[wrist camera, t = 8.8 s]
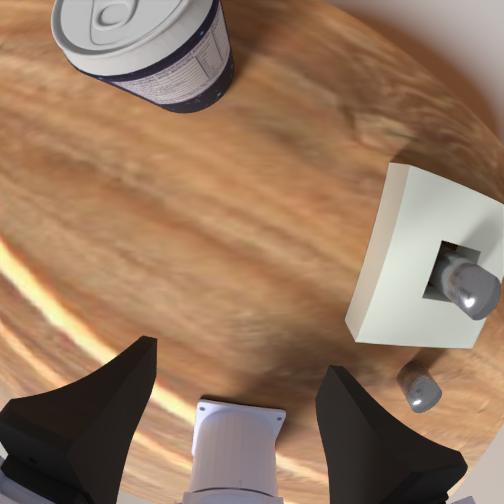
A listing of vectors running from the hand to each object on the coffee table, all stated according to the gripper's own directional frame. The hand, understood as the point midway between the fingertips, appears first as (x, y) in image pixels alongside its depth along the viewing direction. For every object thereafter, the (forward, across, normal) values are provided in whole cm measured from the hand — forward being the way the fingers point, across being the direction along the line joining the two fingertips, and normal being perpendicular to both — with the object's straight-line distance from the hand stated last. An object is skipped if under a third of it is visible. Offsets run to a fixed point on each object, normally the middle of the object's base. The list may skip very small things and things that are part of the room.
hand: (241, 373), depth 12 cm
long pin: (+10, -14, -4) cm, 18 cm away
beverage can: (+10, +6, -13) cm, 18 cm away
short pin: (+10, -17, +7) cm, 21 cm away
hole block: (+10, -14, -4) cm, 18 cm away
